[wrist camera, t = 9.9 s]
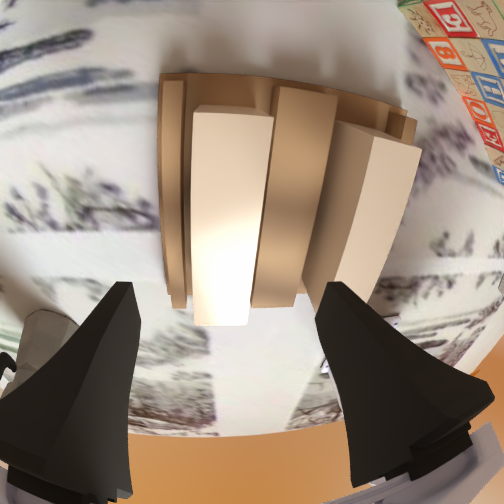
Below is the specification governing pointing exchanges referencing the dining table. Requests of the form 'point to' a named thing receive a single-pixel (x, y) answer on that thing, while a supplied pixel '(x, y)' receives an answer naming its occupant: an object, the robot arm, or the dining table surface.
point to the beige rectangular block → (226, 208)
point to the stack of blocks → (469, 59)
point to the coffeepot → (36, 345)
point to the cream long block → (358, 209)
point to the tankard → (501, 286)
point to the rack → (278, 171)
